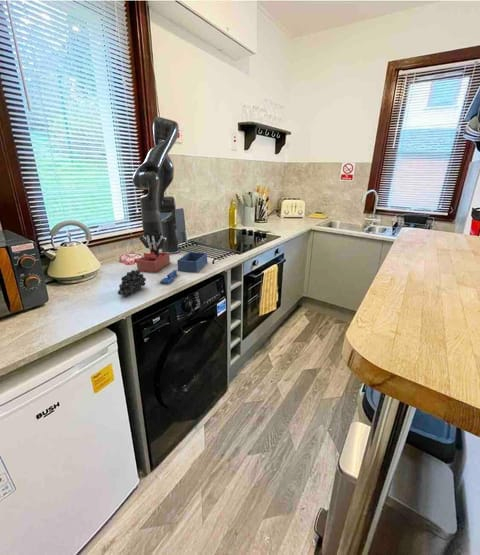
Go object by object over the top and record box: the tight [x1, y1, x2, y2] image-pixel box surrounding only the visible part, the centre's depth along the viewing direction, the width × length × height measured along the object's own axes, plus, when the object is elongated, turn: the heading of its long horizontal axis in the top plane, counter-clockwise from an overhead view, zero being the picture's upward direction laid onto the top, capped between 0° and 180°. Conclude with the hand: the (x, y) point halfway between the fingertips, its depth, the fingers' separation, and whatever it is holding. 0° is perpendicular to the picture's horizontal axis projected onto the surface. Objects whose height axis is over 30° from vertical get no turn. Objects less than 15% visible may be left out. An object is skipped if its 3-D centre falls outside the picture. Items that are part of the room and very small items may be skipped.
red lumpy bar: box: [142, 252, 162, 260], centre depth 126 cm, size 11×4×3 cm, turn 166°
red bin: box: [135, 251, 171, 273], centre depth 143 cm, size 10×15×6 cm
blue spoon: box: [159, 269, 178, 285], centre depth 127 cm, size 11×4×3 cm, turn 166°
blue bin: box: [176, 251, 208, 273], centre depth 143 cm, size 10×15×6 cm
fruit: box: [117, 269, 147, 298], centre depth 113 cm, size 9×8×15 cm
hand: (155, 257), depth 127 cm, fingers closed on red lumpy bar, 1 cm apart
